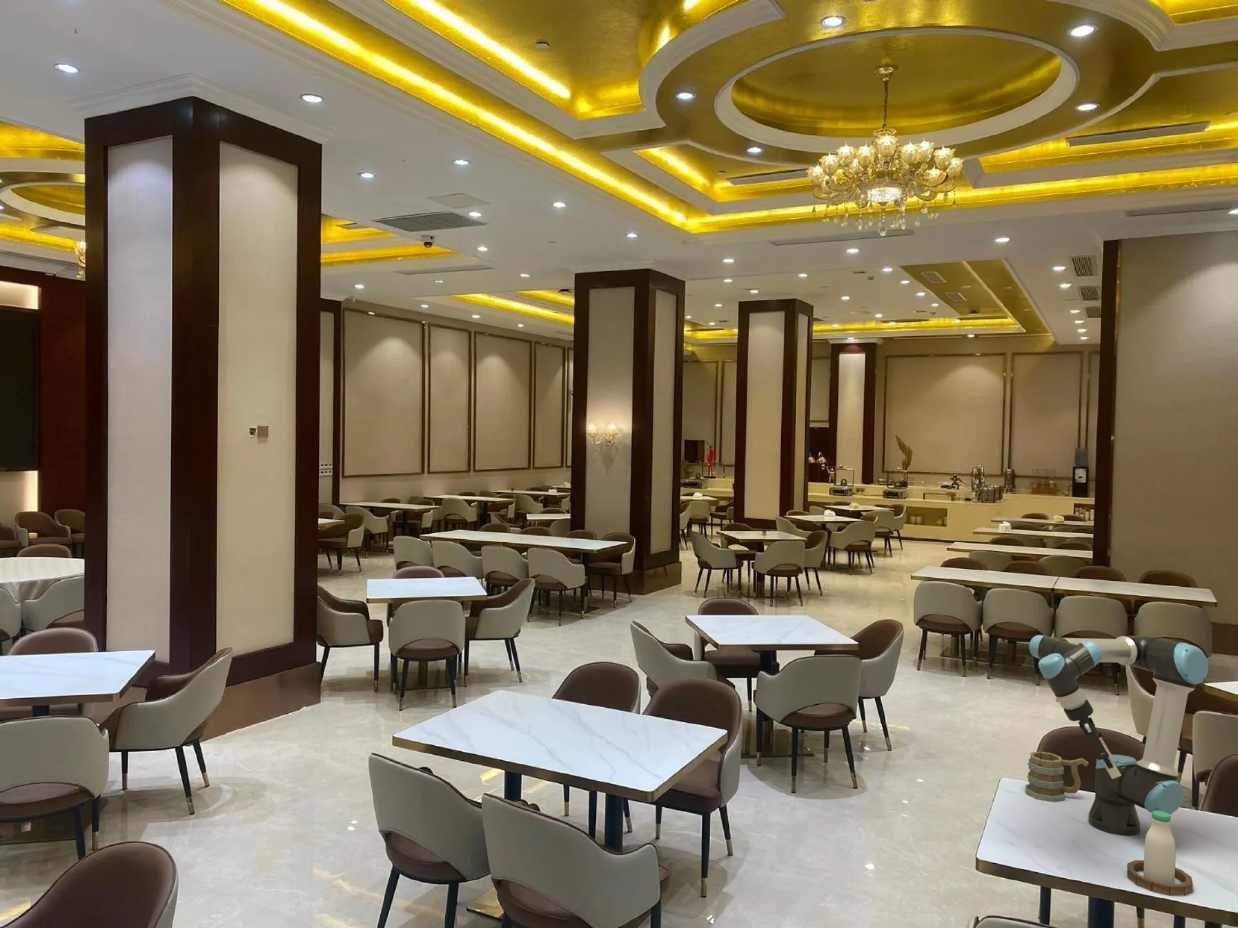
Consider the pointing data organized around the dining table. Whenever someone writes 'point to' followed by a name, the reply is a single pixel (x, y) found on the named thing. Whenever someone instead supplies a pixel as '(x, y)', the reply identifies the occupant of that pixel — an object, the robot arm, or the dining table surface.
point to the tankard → (1051, 776)
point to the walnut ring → (1159, 887)
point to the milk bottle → (1160, 850)
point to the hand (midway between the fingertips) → (1112, 767)
